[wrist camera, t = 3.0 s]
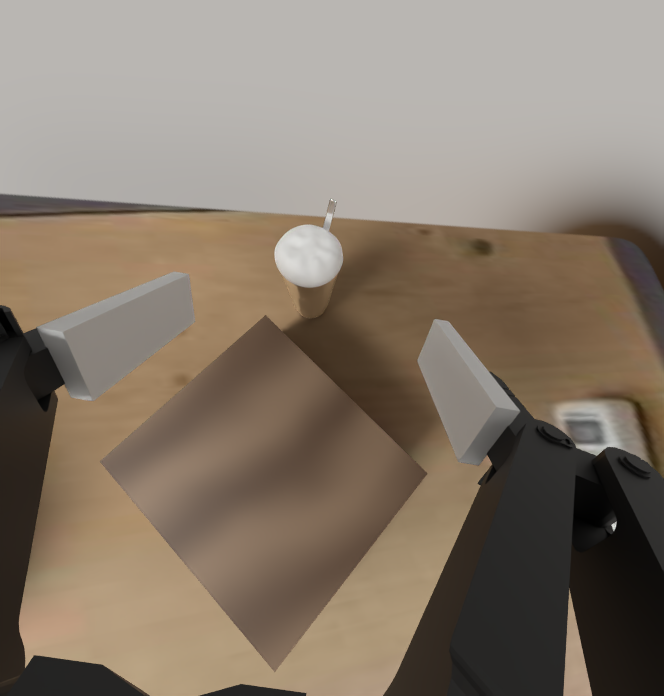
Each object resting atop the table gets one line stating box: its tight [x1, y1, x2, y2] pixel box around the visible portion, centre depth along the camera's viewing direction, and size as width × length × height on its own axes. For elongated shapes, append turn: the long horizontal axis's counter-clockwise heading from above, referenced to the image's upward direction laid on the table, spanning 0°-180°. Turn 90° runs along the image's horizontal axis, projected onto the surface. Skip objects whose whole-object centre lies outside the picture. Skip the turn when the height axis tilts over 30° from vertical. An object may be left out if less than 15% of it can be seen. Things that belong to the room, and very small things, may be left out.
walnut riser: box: [100, 315, 427, 672], centre depth 19 cm, size 16×14×5 cm
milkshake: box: [275, 199, 343, 319], centre depth 20 cm, size 4×5×10 cm
